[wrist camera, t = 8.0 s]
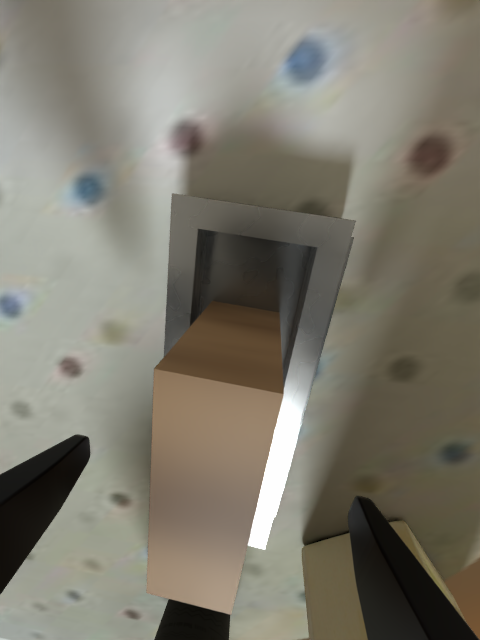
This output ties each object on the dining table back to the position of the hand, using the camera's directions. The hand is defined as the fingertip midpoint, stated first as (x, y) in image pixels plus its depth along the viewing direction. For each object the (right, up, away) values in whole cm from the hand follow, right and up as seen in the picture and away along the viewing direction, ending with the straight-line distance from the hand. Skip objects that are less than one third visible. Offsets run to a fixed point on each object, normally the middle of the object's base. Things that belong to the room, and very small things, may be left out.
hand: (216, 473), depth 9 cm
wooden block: (0, +2, +4) cm, 5 cm away
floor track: (+1, +2, +5) cm, 5 cm away
